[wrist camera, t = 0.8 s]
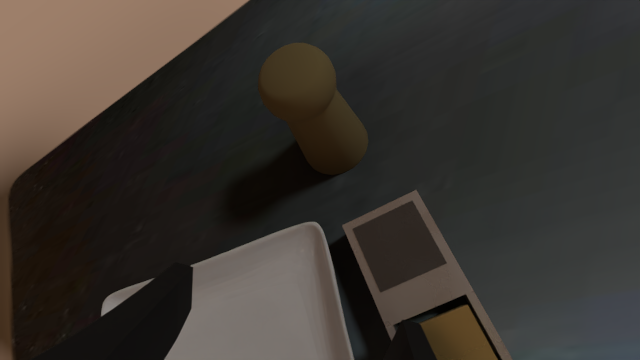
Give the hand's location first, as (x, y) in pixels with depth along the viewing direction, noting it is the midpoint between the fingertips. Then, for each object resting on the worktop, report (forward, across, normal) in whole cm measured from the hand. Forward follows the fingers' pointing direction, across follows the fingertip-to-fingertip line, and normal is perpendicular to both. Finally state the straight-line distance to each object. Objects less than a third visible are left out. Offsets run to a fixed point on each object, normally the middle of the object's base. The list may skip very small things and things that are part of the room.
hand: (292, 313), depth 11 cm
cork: (+21, 0, +2) cm, 21 cm away
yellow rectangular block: (+8, -11, +9) cm, 16 cm away
